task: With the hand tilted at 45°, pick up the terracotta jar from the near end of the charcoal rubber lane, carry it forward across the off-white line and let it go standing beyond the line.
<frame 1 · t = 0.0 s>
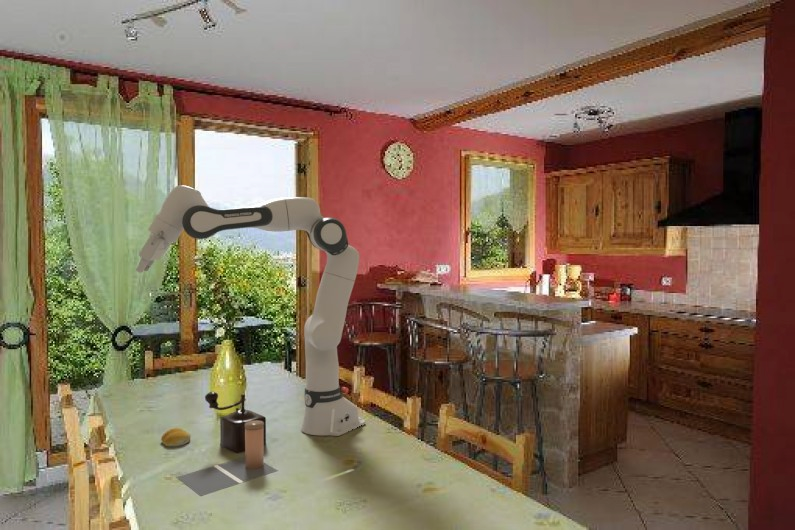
hand: (141, 270, 168), 54 cm above the table, tool tilted 30°, fingers open, 8 cm apart
manual coffee grinder: (235, 449, 167), on the table
terracotta jar: (254, 465, 153), point 1 cm above the table, touching throwing lane
bread roll: (175, 443, 172), on the table
throwing lane: (227, 475, 147), on the table
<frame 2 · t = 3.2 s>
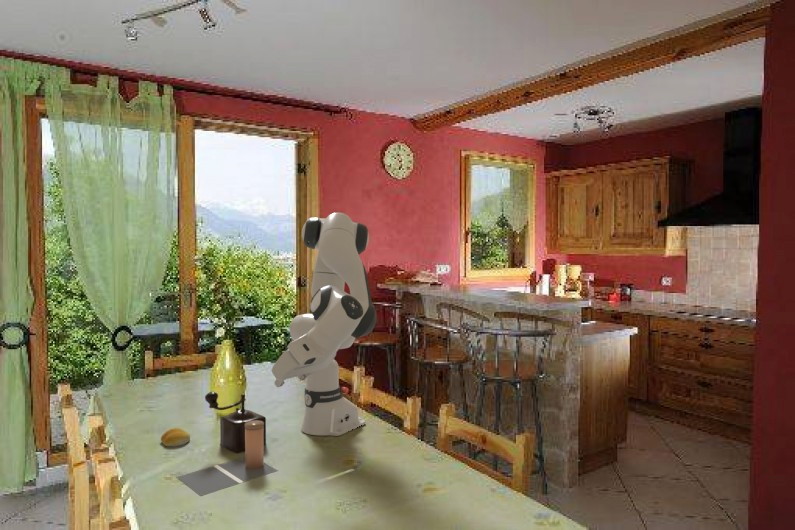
hand: (289, 381, 146), 26 cm above the table, tool tilted 45°, fingers open, 8 cm apart
nothing on the table moved.
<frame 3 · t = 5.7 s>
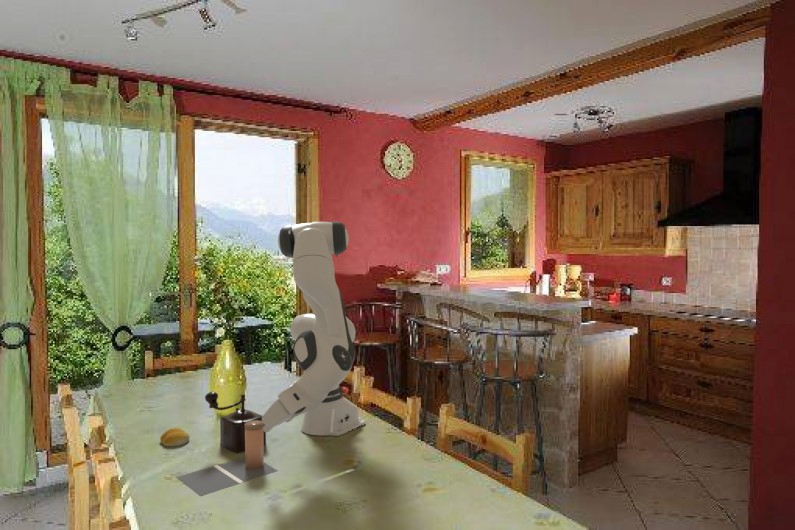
hand: (276, 424, 149), 13 cm above the table, tool tilted 45°, fingers open, 8 cm apart
nothing on the table moved.
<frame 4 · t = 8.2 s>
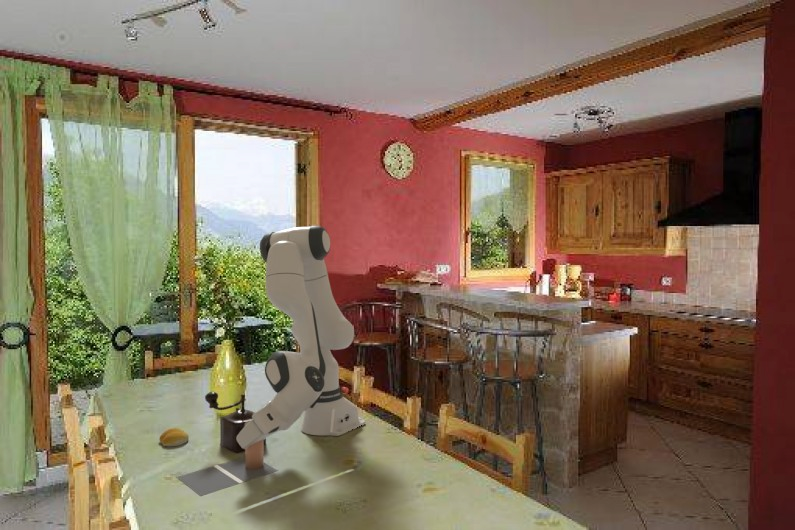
hand: (252, 442, 153), 7 cm above the table, tool tilted 45°, fingers closed on terracotta jar, 5 cm apart
terracotta jar: (254, 465, 153), point 1 cm above the table, touching gripper, throwing lane
everything else where it was.
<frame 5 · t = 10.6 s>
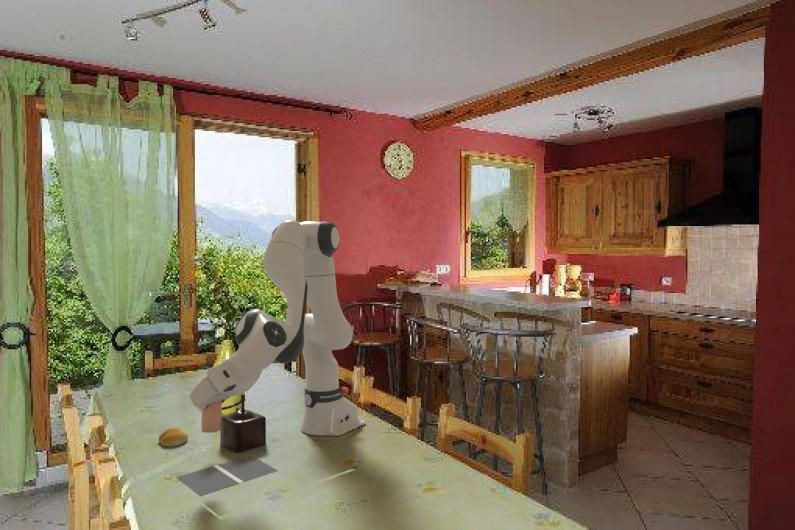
hand: (209, 405, 143), 20 cm above the table, tool tilted 45°, fingers closed on terracotta jar, 5 cm apart
terracotta jar: (211, 429, 143), point 14 cm above the table, touching gripper
everything else where it was.
when the fingers open (8 cm above the table, at t = 13.3 s): terracotta jar drops 1 cm, resting on throwing lane.
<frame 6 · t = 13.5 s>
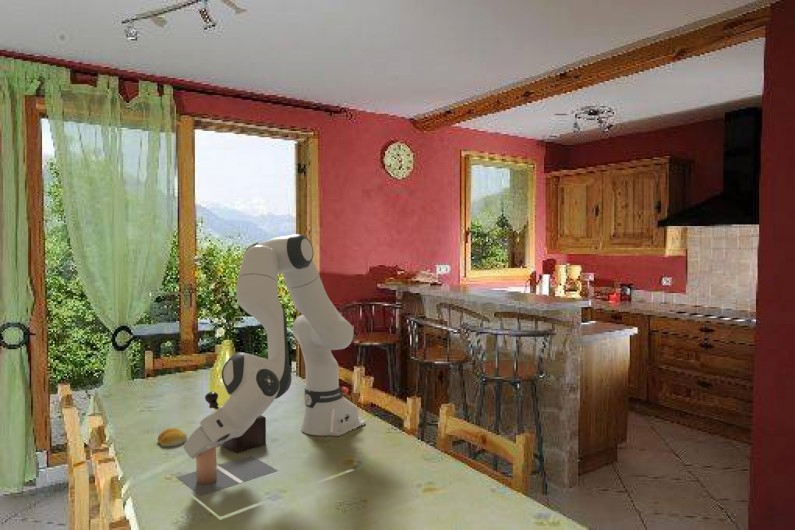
hand: (204, 450, 143), 8 cm above the table, tool tilted 45°, fingers open, 7 cm apart
terracotta jar: (206, 480, 143), point 1 cm above the table, touching throwing lane
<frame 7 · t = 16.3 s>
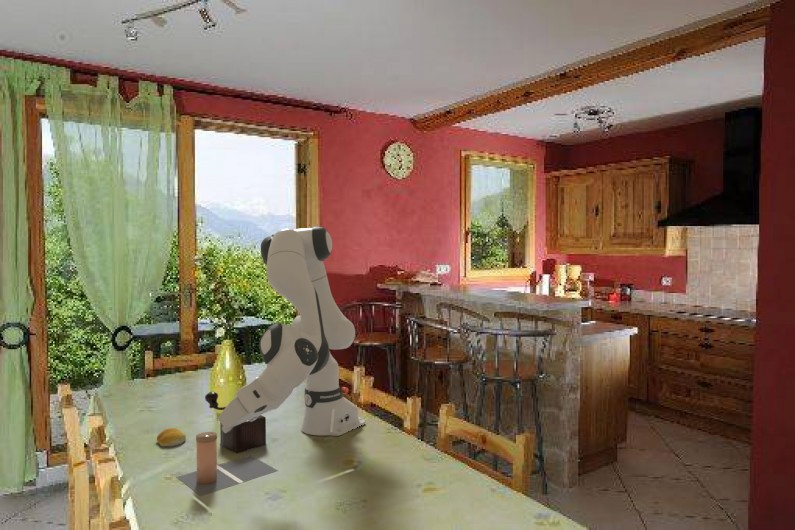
hand: (238, 424, 138), 17 cm above the table, tool tilted 45°, fingers open, 8 cm apart
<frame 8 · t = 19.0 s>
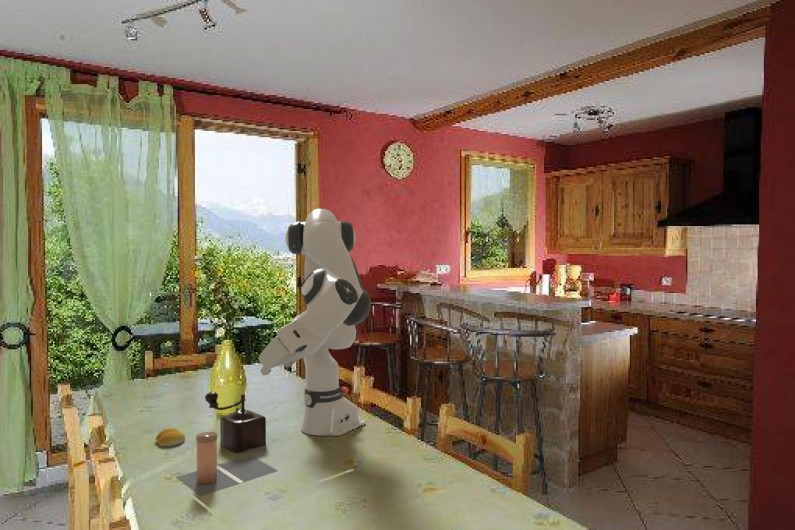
hand: (275, 368, 138), 31 cm above the table, tool tilted 45°, fingers open, 8 cm apart
at the end: terracotta jar inside the target area (2.9 cm from its centre), point 0.7 cm above the table; terracotta jar tilted 1°; the gripper is holding nothing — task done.
